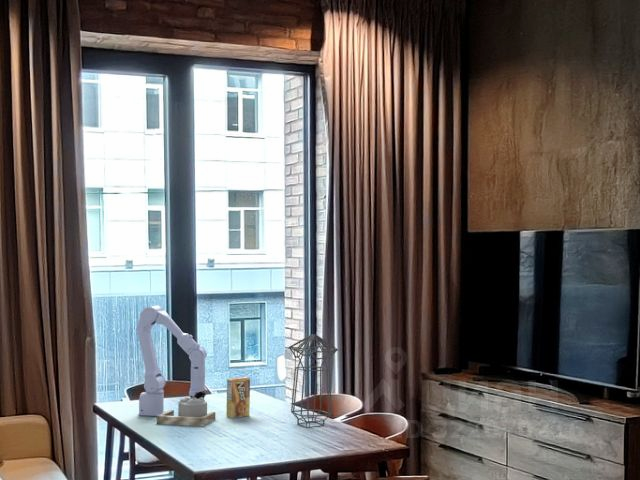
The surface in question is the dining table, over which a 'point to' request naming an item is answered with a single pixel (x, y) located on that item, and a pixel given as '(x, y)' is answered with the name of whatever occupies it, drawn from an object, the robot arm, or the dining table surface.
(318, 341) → the geometric lantern
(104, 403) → the dining table surface
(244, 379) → the candy box
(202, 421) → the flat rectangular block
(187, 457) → the dining table surface
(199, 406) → the lumpy-topped squat cylinder
